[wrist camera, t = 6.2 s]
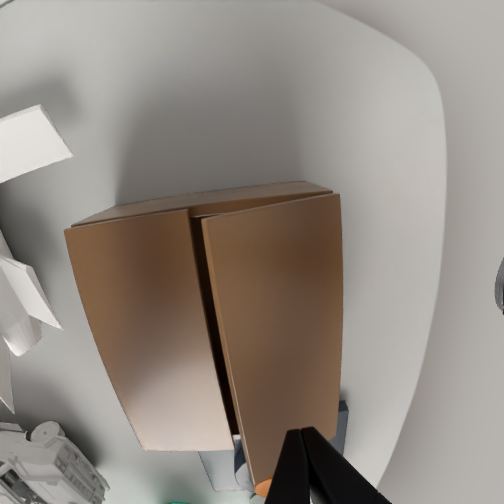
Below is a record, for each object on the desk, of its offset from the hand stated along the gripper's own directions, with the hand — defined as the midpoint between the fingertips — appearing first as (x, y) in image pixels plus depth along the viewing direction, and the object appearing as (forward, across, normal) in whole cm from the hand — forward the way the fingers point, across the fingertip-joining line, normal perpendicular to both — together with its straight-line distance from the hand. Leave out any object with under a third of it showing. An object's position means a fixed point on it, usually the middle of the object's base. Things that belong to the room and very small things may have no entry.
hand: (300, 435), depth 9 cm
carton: (+11, +3, 0) cm, 11 cm away
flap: (+4, 0, 0) cm, 4 cm away
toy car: (+11, +27, +16) cm, 33 cm away
